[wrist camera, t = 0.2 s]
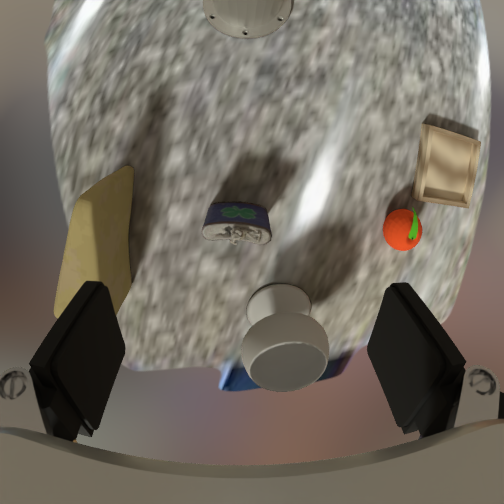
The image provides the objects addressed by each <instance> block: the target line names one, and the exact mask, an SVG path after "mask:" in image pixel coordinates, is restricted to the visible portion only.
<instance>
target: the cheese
mask: <svg viewBox="0 0 504 504" xmlns="http://www.w3.org/2000/svg"><path fill="white" fill-rule="evenodd" d="M133 181H134V169H133V167H130V166H124V167H123V168H121V169H119V170H117V171H116V172H114V173H112V174H110V175H108V176H107V177H105V178H103V179H102V180H100V181H99V182H98V183H96V184H95V185H94V186H92V187H91V188H90V189H89V190H87V191H86V192H85V193H83V194H82V195H81V196H80V197H79V198H78V200H77V202H76V204H75V207H74V210H73V213H72V217H71V221H70V225H69V230H68V236H67V241H66V246H65V252H64V257H63V262H62V267H61V272H60V277H59V282H58V287H57V292H56V299H55V305H54V315H55V316H56V317H57V318H59V317H60V315H61V314H62V312H63V311H64V309H65V308H66V307H67V305H68V304H69V302H70V301H71V300H72V298H73V297H74V296H75V294H76V293H77V292H78V290H79V289H80V288H81V286H82V285H83V284H84V282H85V281H101V282H103V284H104V286H107V287H108V289H109V292H110V296H111V300H112V303H113V307H114V311H115V314H116V315H117V313H118V311H119V309H120V307H121V305H122V303H123V301H124V300H125V298H126V296H127V294H128V292H129V290H130V288H131V285H132V282H131V272H130V261H129V243H128V235H129V222H130V215H131V207H132V195H133Z"/></svg>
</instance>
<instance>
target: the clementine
mask: <svg viewBox="0 0 504 504" xmlns="http://www.w3.org/2000/svg"><path fill="white" fill-rule="evenodd" d="M412 208H413V207H412ZM413 211H414V213H413V212H412V211H409V210H406V209H398V210H395V211H393V212H391V213H390V214H389V215H388V216H387V218H386V219H385V221H384V224H383V234H384V237H385V240H386V241H387V243H388V244H389V245H390V246H391V247H393V248H394V249H396V250H401V251H406V250H409V249H412V248H413V247H415V246H416V245H417V244H418V242H419V241H420V238H421V235H422V225H421V222H420V220H419V218H418V217H417V215H416V212H415V210H414V208H413Z"/></svg>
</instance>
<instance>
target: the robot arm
mask: <svg viewBox="0 0 504 504" xmlns="http://www.w3.org/2000/svg"><path fill="white" fill-rule="evenodd" d="M203 9H204V13H205V16H206V18H207V20H208V21H209V22H210V24H211V25H212V26H213V27H214V28H215V29H217V30H218V31H220V32H221V33H223V34H226V35H228V36H231V37H235V38H241V39H253V38H259V37H264V36H266V35H269V34H271V33H273V32H274V31H276V30H278V29H279V28H280V27H281V26H282V25H283V24H284V23H285V21H286V20H287V18H288V16H289V14H290V11H291V0H203ZM212 17H215V18H214V19H211V18H212ZM278 19H281V21H278ZM244 33H247V35H244ZM367 352H368V355H369V358H370V360H371V362H372V365H373V367H374V369H375V372H376V374H377V376H378V379H379V381H380V383H381V386H382V388H383V391H384V393H385V396H386V398H387V401H388V403H389V406H390V408H391V411H392V414H393V416H394V419H395V421H396V424H397V426H399V427H401V428H402V430H403V433H404V434H407V433H411V432H414V431H417V430H419V432H420V437H419V439H418V440H415V441H411V442H407V443H404V444H400V445H397V446H393V447H389V448H385V449H381V450H376V451H372V452H367V453H362V454H357V455H352V456H346V457H340V458H334V459H327V460H319V461H311V462H301V463H290V464H275V465H208V464H192V463H181V462H172V461H163V460H156V459H148V458H143V457H136V456H131V455H126V454H121V453H116V452H111V451H107V450H103V449H98V448H94V447H90V446H86V445H82V444H78V443H77V441H76V438H77V435H78V434H81V435H85V436H88V437H92V435H93V431H94V430H97V429H98V428H99V425H100V422H101V419H102V416H103V413H104V410H105V406H106V404H107V401H108V398H109V395H110V392H111V389H112V387H113V384H114V381H115V379H116V376H117V373H118V370H119V368H120V365H121V363H122V360H123V357H124V355H125V343H124V340H123V337H122V334H121V331H120V328H119V324H118V321H117V317H116V314H115V311H114V307H113V303H112V300H111V296H110V292H109V289H108V287H107V286H104V284H103V282H101V281H85V282H84V284H83V285H82V286H81V288H80V289H79V290H78V292H77V293H76V294H75V296H74V297H73V298H72V300H71V301H70V302H69V304H68V305H67V307H66V308H65V309H64V311H63V312H62V314H61V315H60V317H59V318H58V319H57V321H56V322H55V324H54V325H53V327H52V328H51V330H50V331H49V333H48V334H47V336H46V337H45V339H44V340H43V342H42V343H41V345H40V347H39V348H38V350H37V351H36V353H35V355H34V356H33V358H32V359H31V361H30V363H29V364H30V366H31V369H30V370H29V372H28V371H27V370H26V369H24V368H22V367H13V368H10V369H8V370H6V371H4V372H3V373H2V374H1V375H0V504H504V393H502V392H500V385H499V381H498V379H497V377H496V375H495V374H494V373H493V372H492V371H491V370H489V369H488V368H486V367H484V366H480V365H474V366H471V367H469V368H468V369H467V370H465V369H464V365H465V363H466V360H465V359H464V357H463V356H462V354H461V353H460V352H459V350H458V349H457V347H456V346H455V344H454V343H453V341H452V340H451V339H450V337H449V336H448V334H447V333H446V331H445V330H444V329H443V327H442V326H441V325H440V323H439V322H438V321H437V319H436V318H435V317H434V315H433V314H432V313H431V311H430V310H429V309H428V307H427V306H426V305H425V303H424V302H423V301H422V300H421V298H420V297H419V296H418V294H417V293H416V292H415V291H414V289H413V288H412V287H411V286H410V284H408V283H406V282H405V283H392V284H391V285H390V287H388V288H387V289H386V290H385V293H384V297H383V300H382V303H381V307H380V310H379V313H378V316H377V319H376V322H375V325H374V328H373V331H372V334H371V337H370V340H369V342H368V346H367Z"/></svg>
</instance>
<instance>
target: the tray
mask: <svg viewBox="0 0 504 504" xmlns="http://www.w3.org/2000/svg"><path fill="white" fill-rule="evenodd" d="M480 146H481V142H480V141H477V140H474V139H472V138H469V137H466V136H463V135H460V134H457V133H454V132H451V131H448V130H445V129H442V128H438V127H435V126H431V125H427V124H422V127H421V136H420V144H419V151H418V159H417V165H416V171H415V177H414V183H413V189H412V194H411V197H413V198H414V199H416V200H418V201H423V202H431V203H438V204H444V205H451V206H457V207H464V208H469V205H470V201H471V197H472V192H473V187H474V182H475V177H476V172H477V166H478V160H479V153H480Z"/></svg>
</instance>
